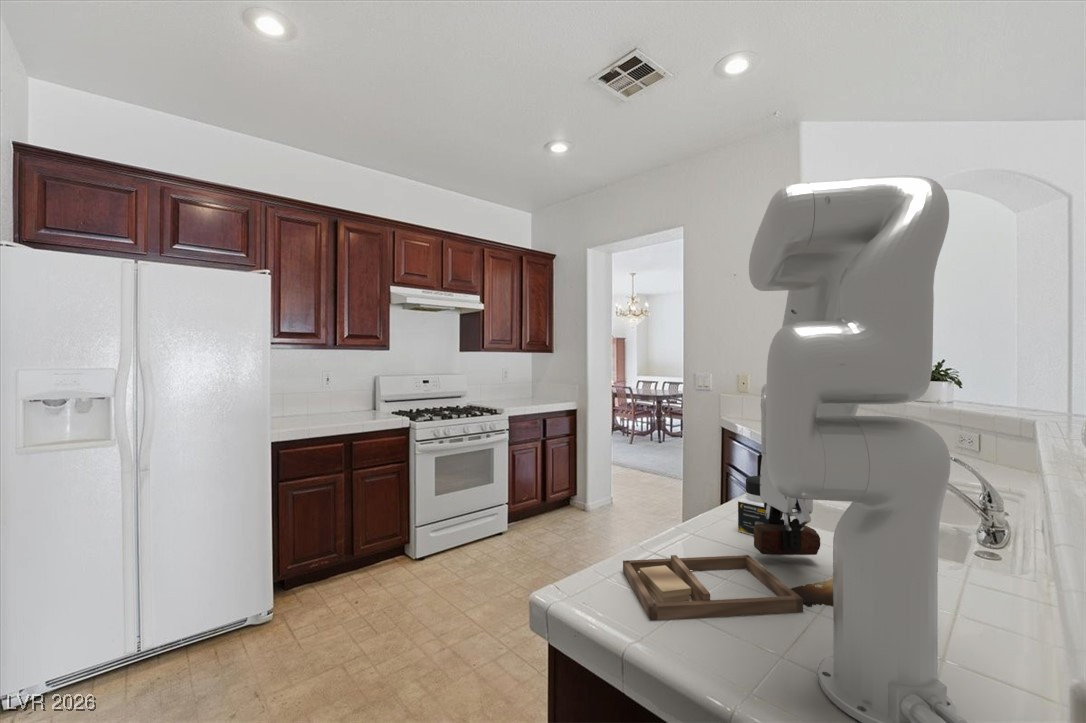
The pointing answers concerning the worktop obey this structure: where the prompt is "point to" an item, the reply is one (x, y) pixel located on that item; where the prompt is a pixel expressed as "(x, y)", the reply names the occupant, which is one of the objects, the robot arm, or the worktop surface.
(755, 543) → the brick
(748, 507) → the medicine bottle
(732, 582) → the worktop surface
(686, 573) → the rack
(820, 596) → the parchment
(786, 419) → the robot arm
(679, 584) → the offcut stack
